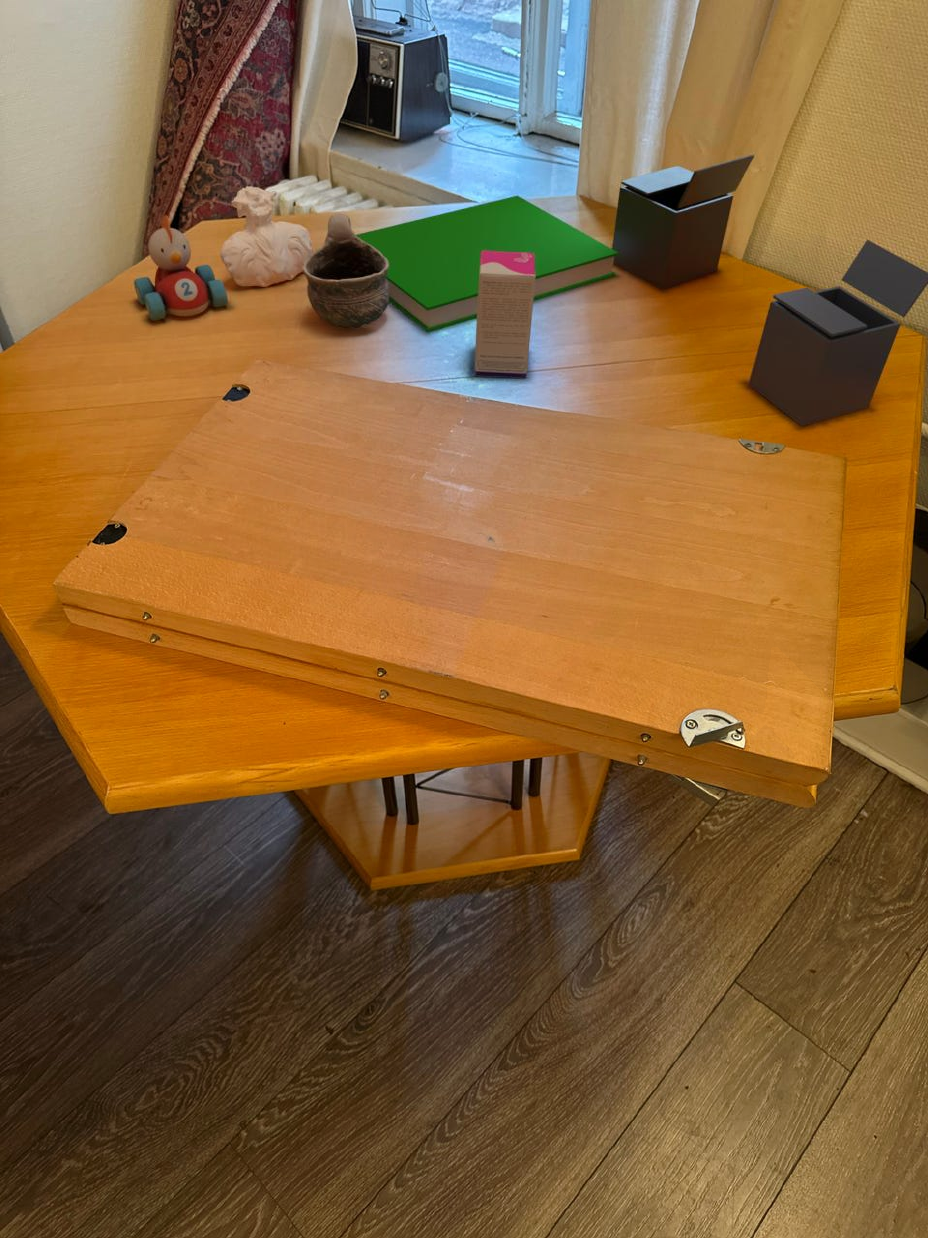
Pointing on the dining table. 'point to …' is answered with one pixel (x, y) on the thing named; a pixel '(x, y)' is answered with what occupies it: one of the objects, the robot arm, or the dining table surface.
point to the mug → (346, 277)
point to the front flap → (886, 278)
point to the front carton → (821, 353)
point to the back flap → (715, 181)
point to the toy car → (177, 278)
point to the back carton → (668, 229)
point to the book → (450, 257)
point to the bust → (264, 243)
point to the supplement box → (504, 313)
